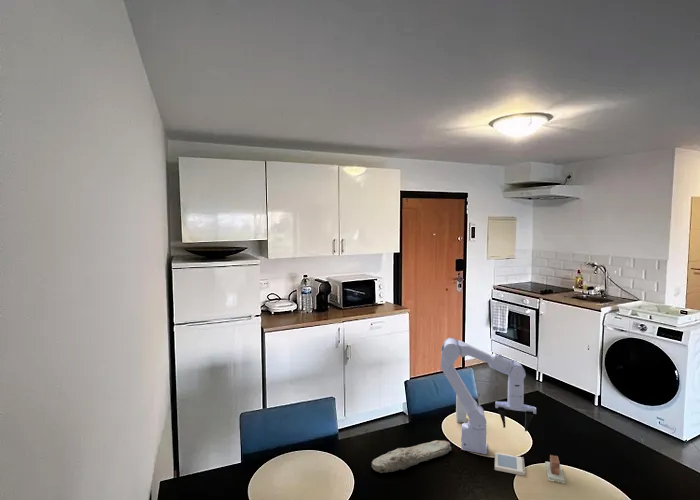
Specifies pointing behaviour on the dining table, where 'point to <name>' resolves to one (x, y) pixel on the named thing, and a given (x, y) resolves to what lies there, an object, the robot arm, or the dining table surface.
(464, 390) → the robot arm
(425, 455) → the long grey stone
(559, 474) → the stub
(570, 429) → the dining table surface
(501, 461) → the ticket board
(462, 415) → the skincare box
